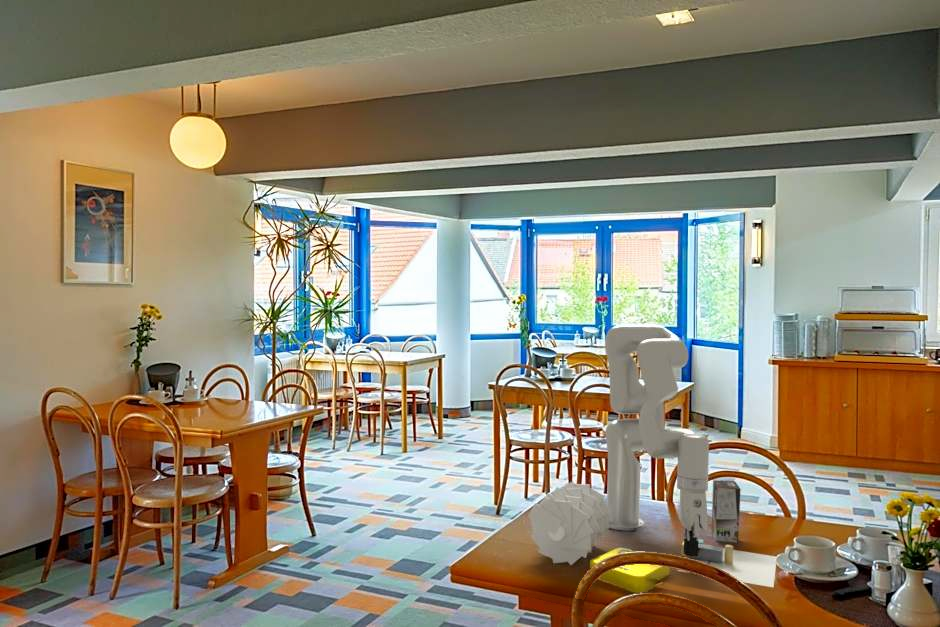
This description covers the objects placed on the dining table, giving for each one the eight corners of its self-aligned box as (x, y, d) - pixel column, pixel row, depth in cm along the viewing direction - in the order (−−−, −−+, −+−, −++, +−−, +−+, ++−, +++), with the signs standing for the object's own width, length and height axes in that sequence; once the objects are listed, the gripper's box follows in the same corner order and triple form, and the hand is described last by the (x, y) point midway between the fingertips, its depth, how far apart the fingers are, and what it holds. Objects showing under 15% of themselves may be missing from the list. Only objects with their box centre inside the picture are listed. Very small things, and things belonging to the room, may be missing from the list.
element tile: (586, 578, 179) (586, 558, 179) (618, 562, 190) (619, 544, 190) (641, 596, 169) (641, 576, 169) (672, 579, 180) (673, 559, 180)
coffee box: (739, 547, 203) (741, 488, 203) (714, 544, 204) (716, 487, 204) (734, 536, 212) (736, 480, 212) (710, 534, 213) (712, 479, 213)
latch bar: (723, 559, 189) (723, 547, 189) (721, 563, 186) (721, 551, 186) (683, 552, 193) (683, 540, 193) (681, 556, 191) (681, 544, 190)
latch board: (676, 575, 181) (677, 552, 181) (689, 547, 202) (690, 527, 202) (773, 592, 172) (774, 568, 172) (776, 561, 193) (777, 540, 192)
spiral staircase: (595, 556, 204) (571, 584, 181) (541, 520, 211) (511, 542, 188) (626, 500, 201) (605, 521, 178) (570, 466, 208) (544, 481, 185)
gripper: (716, 490, 180) (714, 565, 180) (699, 476, 195) (697, 545, 195) (685, 490, 180) (683, 564, 180) (670, 475, 195) (669, 545, 195)
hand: (690, 554), depth 188 cm, fingers closed
